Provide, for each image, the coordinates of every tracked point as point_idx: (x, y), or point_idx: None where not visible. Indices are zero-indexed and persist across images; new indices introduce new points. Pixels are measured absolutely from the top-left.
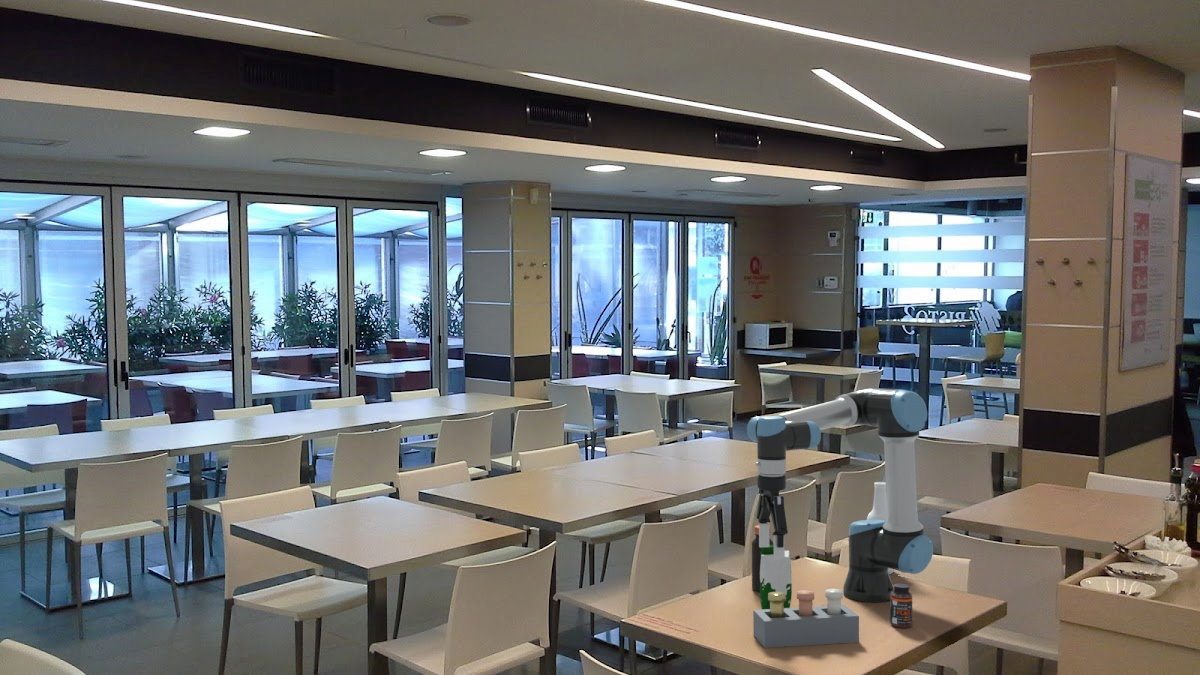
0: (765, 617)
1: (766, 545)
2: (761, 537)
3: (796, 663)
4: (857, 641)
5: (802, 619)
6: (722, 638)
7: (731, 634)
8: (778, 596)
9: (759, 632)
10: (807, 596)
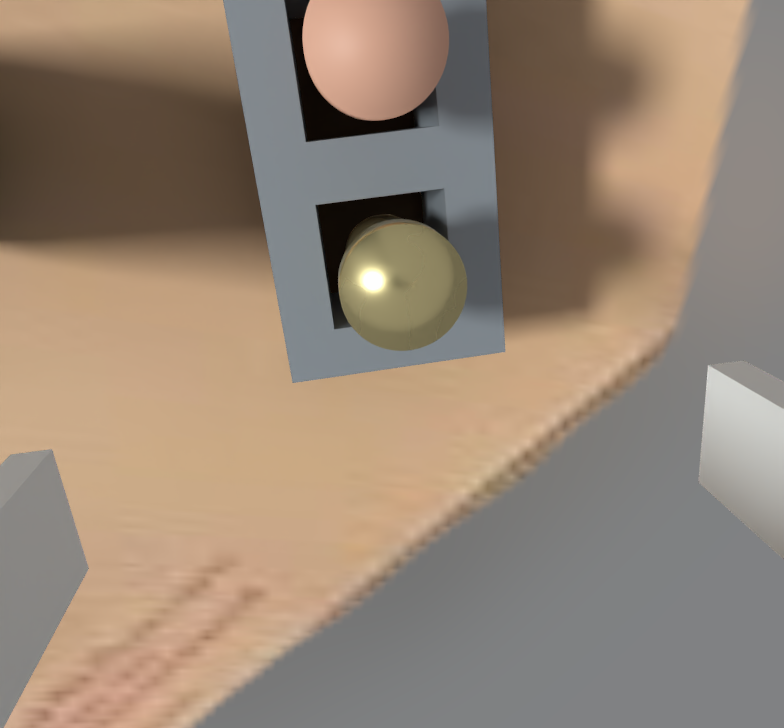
0: None
1: (53, 500)
2: (19, 653)
3: (680, 208)
4: None
5: (491, 117)
6: (333, 472)
7: (279, 431)
8: (460, 288)
9: None
10: (447, 44)
